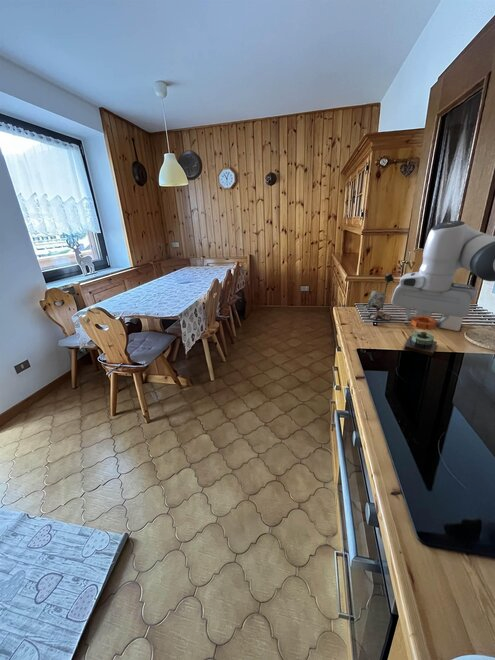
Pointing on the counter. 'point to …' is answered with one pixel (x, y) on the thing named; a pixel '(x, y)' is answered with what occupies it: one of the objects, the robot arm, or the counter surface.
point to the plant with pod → (379, 301)
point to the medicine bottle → (452, 323)
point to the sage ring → (426, 341)
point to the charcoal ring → (420, 345)
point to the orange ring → (424, 322)
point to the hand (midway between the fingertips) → (423, 323)
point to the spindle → (419, 350)
